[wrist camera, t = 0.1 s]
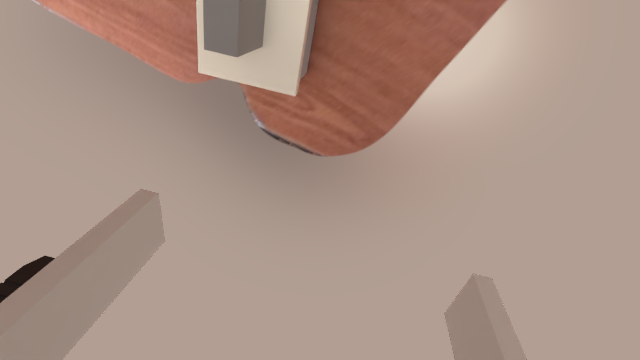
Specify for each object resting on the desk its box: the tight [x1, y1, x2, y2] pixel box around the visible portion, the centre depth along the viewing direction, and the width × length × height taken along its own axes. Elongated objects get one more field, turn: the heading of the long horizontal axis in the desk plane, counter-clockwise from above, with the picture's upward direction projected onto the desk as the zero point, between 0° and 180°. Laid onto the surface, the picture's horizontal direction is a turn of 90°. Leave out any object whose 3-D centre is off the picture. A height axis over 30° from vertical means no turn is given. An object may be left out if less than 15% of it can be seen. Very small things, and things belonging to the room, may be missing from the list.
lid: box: [196, 0, 312, 96], centre depth 24 cm, size 12×10×8 cm
